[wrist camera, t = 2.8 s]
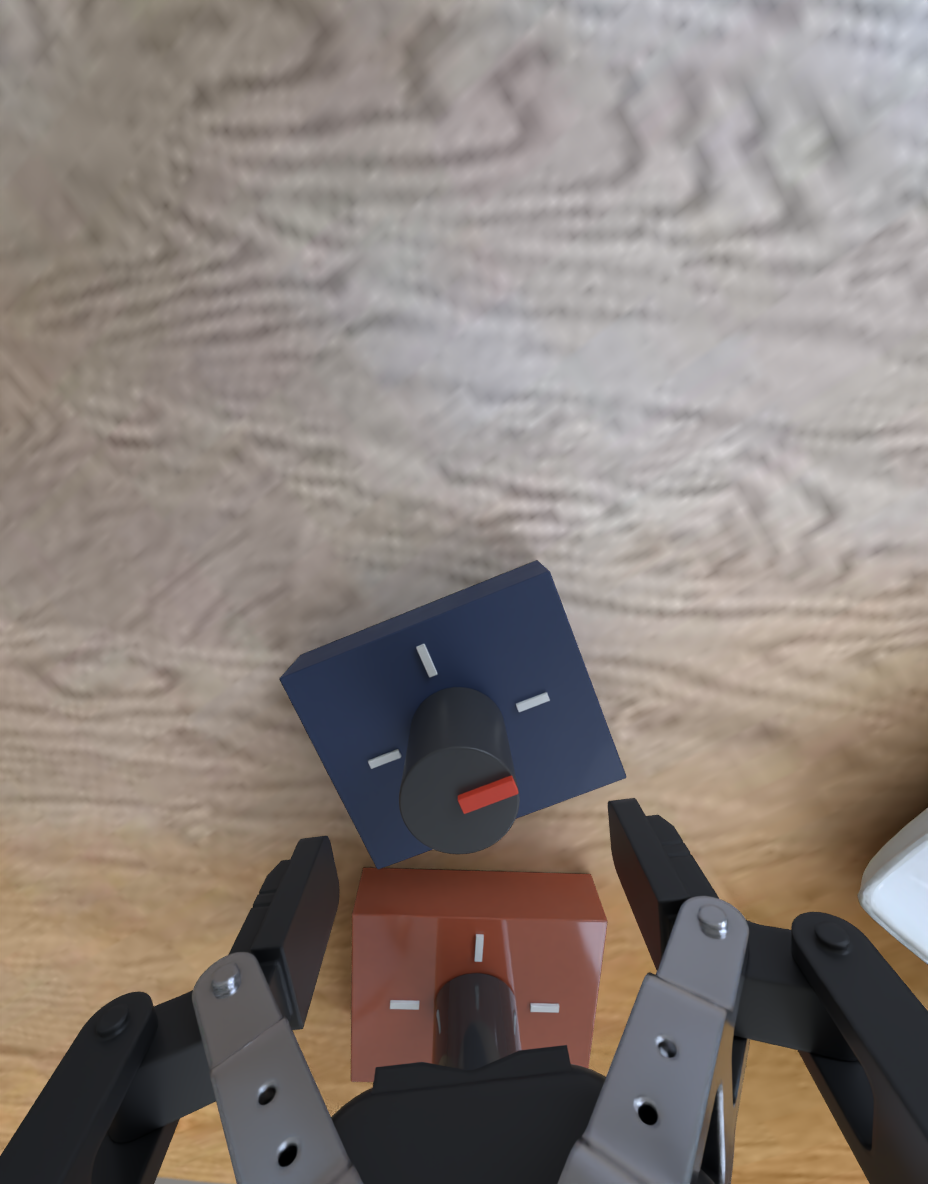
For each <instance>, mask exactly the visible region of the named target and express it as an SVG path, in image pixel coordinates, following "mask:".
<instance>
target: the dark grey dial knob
mask: <svg viewBox="0 0 928 1184" xmlns="http://www.w3.org/2000/svg"><path fill="white" fill-rule="evenodd" d="M520 1050H522V1048H521V1040H520V1031H519V1023H518V1015H517V1007H516V1000H515V997H514V994H513V992H512V990H511V989H510V988H509V986H508V985H507V984H506V983H504V982H503V981H502V980H500V979H499V978H497V977H495V976H492V975H489V974H484V973H468V974H463V975H460V976H457V977H455V978H453V979H451V980H450V981H448V982H447V983H446V984H445V985H444V986H443V987H442V988H441V989H440V991H439V992H438V994H437V996H436V998H435V1002H434V1012H433V1038H432V1064H437V1065H442V1066H447V1067H453V1068H458V1069H463V1070H474V1069H477V1068H480V1067H482V1066H484V1065H487V1064H489V1063H491V1062H494V1061H496V1060H498V1059H501V1058H503V1057H505V1056H508V1055H510V1054H512V1053H515V1052H517V1051H520Z"/></svg>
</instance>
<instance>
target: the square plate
mask: <svg viewBox="0 0 928 1184" xmlns="http://www.w3.org/2000/svg"><path fill="white" fill-rule="evenodd" d="M858 899H859V903H860V905H861V906H862V908H863V909H864V910H865V911H866V912H867V913H868V914H869V915H870V917H871V918H872V919H874V920H875V921H876V922H877V923H878V924H879V925H881V926H882V927H883V928H884V929H885V930H886V931H888V932H889V933H890V934H891V935H892V936H893V937H895V938H896V939H897V940H898V941H899V942H900V943H902V944H903V945H904V946H905V947H907V948H908V949H909V950H910V951H912V952H913V953H914V954H915V955H917V956H918V957H919V958H920V959H922V960H923V961H924V962H925V963H926V964H928V808H926V809H925V810H924V811H923V812H922V813H920V814H919V815H918V816H917V817H915V818H914V819H913V820H912V821H911V822H909V823H908V824H907V825H906V826H905V827H903V828H902V829H901V830H900V831H899V832H898V833H897V834H896V835H895V836H894V837H893V838H891V839H890V840H889V841H888V842H887V843H886V844H885V845H884V846H883V847H882V848H881V849H880V850H879V851H878V853H877V854H876V855H875V856H874V857H873V858H872V859H871V860H870V862H869V864H868V865H867V867H866V869H865V871H864V873H863V876H862V881H861V888H860V891H859V893H858Z"/></svg>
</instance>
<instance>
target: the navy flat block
mask: <svg viewBox="0 0 928 1184" xmlns="http://www.w3.org/2000/svg"><path fill="white" fill-rule="evenodd" d="M280 681H281V683H282V685H283V687H284V689H285V691H286V693H287V695H288V697H289V699H290V701H291V703H292V705H293V706H294V708H295V710H296V712H297V714H298V716H299V718H300V720H301V722H302V724H303V726H304V728H305V730H306V732H307V734H308V736H309V738H310V740H311V741H312V743H313V745H314V747H315V749H316V751H317V753H318V755H319V757H320V759H321V761H322V763H323V765H324V767H325V769H326V771H327V773H328V775H329V776H330V778H331V780H332V782H333V784H334V786H335V788H336V790H337V792H338V794H339V796H340V798H341V800H342V802H343V804H344V806H345V808H346V810H347V812H348V813H349V815H350V817H351V819H352V821H353V823H354V825H355V827H356V829H357V831H358V833H359V835H360V837H361V839H362V841H363V843H364V845H365V847H366V848H367V850H368V852H369V854H370V856H371V858H372V860H373V862H374V864H375V866H376V868H377V869H381V868H384V867H386V866H389V865H392V864H395V863H397V862H400V861H403V860H405V859H408V858H411V857H413V856H416V855H419V854H422V853H424V852H427V851H430V850H432V848H429V847H428V846H426V845H424V844H423V843H421V842H420V841H419V840H417V839H416V838H415V837H414V836H413V835H412V834H411V832H410V831H409V830H408V828H407V827H406V825H405V823H404V821H403V819H402V816H401V813H400V809H399V792H400V786H401V781H402V775H403V769H404V764H405V758H406V752H407V747H408V741H409V735H410V730H411V724H412V720H413V717H414V714H415V712H416V710H417V709H418V707H419V706H420V704H421V703H422V702H423V701H424V700H425V699H427V698H428V697H429V696H431V695H432V694H434V693H436V692H438V691H440V690H443V689H447V688H452V687H465V688H470V689H474V690H477V691H479V692H481V693H483V694H484V695H486V696H488V697H489V698H490V699H491V700H492V701H493V702H494V703H495V704H496V705H497V707H498V708H499V710H500V712H501V714H502V716H503V719H504V723H505V728H506V733H507V737H508V742H509V747H510V751H511V756H512V761H513V765H514V770H515V775H516V779H517V784H518V789H519V797H520V802H519V809H518V813H517V816H516V818H519V817H522V816H524V815H527V814H530V813H533V812H535V811H538V810H541V809H543V808H546V807H549V806H552V805H554V804H557V803H560V802H562V801H565V800H568V799H570V798H573V797H576V796H579V795H581V794H584V793H587V792H589V791H592V790H595V789H598V788H600V787H603V786H606V785H608V784H611V783H614V782H616V781H619V780H622V779H625V778H626V774H625V771H624V769H623V766H622V763H621V761H620V758H619V755H618V752H617V750H616V747H615V744H614V742H613V739H612V736H611V734H610V731H609V728H608V726H607V723H606V720H605V718H604V715H603V712H602V710H601V707H600V704H599V702H598V699H597V696H596V694H595V691H594V688H593V686H592V683H591V680H590V678H589V675H588V672H587V670H586V667H585V664H584V662H583V659H582V656H581V654H580V651H579V648H578V645H577V643H576V640H575V637H574V635H573V632H572V629H571V627H570V624H569V621H568V619H567V616H566V613H565V611H564V608H563V605H562V603H561V600H560V597H559V595H558V592H557V589H556V587H555V584H554V581H553V579H552V576H551V573H550V571H549V570H548V569H547V568H545V567H544V566H543V565H542V564H541V563H540V562H539V561H538V560H536V561H534V562H531V563H529V564H526V565H524V566H521V567H519V568H516V569H514V570H511V571H509V572H506V573H504V574H501V575H499V576H496V577H494V578H491V579H489V580H486V581H484V582H481V583H479V584H476V585H474V586H471V587H469V588H466V589H464V590H461V591H459V592H456V593H454V594H451V595H449V596H446V597H444V598H441V599H439V600H436V601H434V602H431V603H429V604H426V605H424V606H421V607H419V608H416V609H414V610H411V611H409V612H406V613H404V614H401V615H399V616H396V617H394V618H391V619H389V620H386V621H384V622H381V623H379V624H376V625H374V626H371V627H369V628H366V629H364V630H361V631H359V632H356V633H354V634H351V635H349V636H346V637H344V638H341V639H339V640H336V641H334V642H331V643H329V644H326V645H324V646H321V647H319V648H317V649H314V650H312V651H309V652H307V653H304V654H302V655H300V656H299V657H298V658H297V659H296V661H295V662H294V663H293V664H292V665H291V666H290V667H289V668H288V669H287V671H286V672H285V673H284V674H283V675H282V676H281V677H280ZM516 818H515V819H516Z"/></svg>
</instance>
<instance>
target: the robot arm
mask: <svg viewBox="0 0 928 1184" xmlns="http://www.w3.org/2000/svg"><path fill="white" fill-rule="evenodd" d="M608 816H609V828H610V840H611V850H612V856H613V861H614V865H615V869H616V872H617V874H618V877H619V879H620V882H621V884H622V887H623V889H624V892H625V894H626V896H627V899H628V901H629V904H630V906H631V909H632V911H633V914H634V916H635V919H636V921H637V923H638V926H639V928H640V931H641V933H642V936H643V938H644V941H645V943H646V945H647V948H648V950H649V953H650V955H651V958H652V960H653V963H654V965H655V967H656V970H657V973H656V975H654V974H652V973H650V972H649V973H647V975H646V976H645V978H644V980H643V982H642V985H641V987H640V990H639V993H638V995H637V998H636V1000H635V1003H634V1006H633V1008H632V1011H631V1014H630V1016H629V1019H628V1021H627V1024H626V1027H625V1029H624V1032H623V1035H622V1037H621V1040H620V1042H619V1045H618V1048H617V1050H616V1053H615V1055H614V1058H613V1061H612V1063H611V1066H610V1069H609V1071H608V1074H607V1076H606V1077H605V1076H603V1075H602V1074H599V1073H597V1072H595V1071H593V1070H591V1069H588V1068H585V1067H582V1066H579V1065H574V1064H571V1063H570V1058H569V1053H568V1048H567V1045H562V1046H553V1047H545V1048H536V1049H528V1050H520V1051H517V1052H515V1053H512V1054H510V1055H508V1056H505V1057H503V1058H501V1059H498V1060H496V1061H494V1062H491V1063H489V1064H487V1065H484V1066H482V1067H480V1068H477V1069H474V1070H463V1069H458V1068H453V1067H447V1066H442V1065H437V1064H431V1063H426V1062H416V1063H408V1064H399V1065H391V1066H382V1067H376V1068H375V1075H374V1082H373V1088H371V1089H369V1090H366V1091H365V1092H363V1093H361V1094H360V1095H358V1096H356V1097H355V1098H353V1099H352V1100H350V1101H349V1102H348V1103H346V1104H345V1105H344V1106H343V1107H342V1108H340V1109H339V1110H338V1111H337V1112H336V1113H335V1114H334V1115H333V1116H332V1117H330V1114H329V1112H328V1110H327V1107H326V1105H325V1103H324V1101H323V1098H322V1096H321V1094H320V1092H319V1089H318V1087H317V1085H316V1083H315V1080H314V1078H313V1076H312V1074H311V1071H310V1069H309V1067H308V1065H307V1062H306V1060H305V1058H304V1056H303V1053H302V1051H301V1049H300V1046H299V1044H298V1042H297V1040H296V1037H295V1035H294V1033H293V1031H292V1030H298V1029H303V1027H304V1024H305V1020H306V1017H307V1013H308V1010H309V1006H310V1003H311V999H312V996H313V992H314V989H315V985H316V982H317V978H318V975H319V971H320V968H321V964H322V961H323V957H324V954H325V950H326V947H327V943H328V940H329V936H330V933H331V929H332V926H333V922H334V919H335V915H336V912H337V908H338V904H339V880H338V876H337V871H336V866H335V862H334V857H333V852H332V848H331V843H330V840H329V838H328V836H320V837H312V838H304V839H300V840H299V842H298V844H297V846H296V848H295V850H294V852H293V855H292V857H291V859H290V860H283V861H281V862H280V863H279V864H278V865H277V866H276V867H275V868H274V869H273V870H272V871H271V872H270V873H269V874H268V875H267V877H266V879H265V881H264V883H263V885H262V887H261V889H260V891H259V895H257V897H256V899H255V901H254V904H253V908H251V910H250V912H249V914H248V916H247V918H246V920H245V922H244V924H243V926H242V928H241V930H240V932H239V934H238V936H237V938H236V940H235V942H234V944H233V946H232V948H231V951H230V953H229V955H227V956H225V957H223V958H221V959H219V960H218V961H216V962H215V963H214V964H212V965H211V966H210V967H209V968H208V969H207V970H206V971H205V972H204V973H203V974H202V975H201V976H200V978H199V979H198V981H197V982H196V984H195V986H194V989H193V990H192V991H190V992H188V993H186V994H184V995H181V996H179V997H176V998H174V999H171V1000H169V1001H166V1002H164V1003H162V1004H159V1005H157V1006H153V1003H152V1000H151V998H150V996H149V995H148V994H147V993H144V992H132V993H128V994H125V995H122V996H120V997H118V998H116V999H114V1000H112V1001H111V1002H109V1003H108V1004H106V1005H105V1006H103V1007H102V1008H101V1009H100V1010H98V1011H97V1012H96V1013H95V1014H94V1015H93V1016H92V1017H91V1018H90V1019H89V1020H88V1021H87V1023H86V1024H85V1025H84V1026H83V1028H82V1029H81V1031H80V1032H79V1034H78V1035H77V1037H76V1039H75V1040H74V1042H73V1043H72V1045H71V1046H70V1048H69V1050H68V1051H67V1053H66V1054H65V1056H64V1057H63V1059H62V1060H61V1062H60V1064H59V1065H58V1067H57V1068H56V1070H55V1071H54V1073H53V1074H52V1076H51V1078H50V1079H49V1081H48V1082H47V1084H46V1085H45V1087H44V1089H43V1090H42V1092H41V1093H40V1095H39V1096H38V1098H37V1099H36V1101H35V1103H34V1104H33V1106H32V1107H31V1109H30V1110H29V1112H28V1114H27V1115H26V1117H25V1118H24V1120H23V1121H22V1123H21V1124H20V1126H19V1128H18V1129H17V1131H16V1132H15V1134H14V1135H13V1137H12V1139H11V1140H10V1142H9V1143H8V1145H7V1146H6V1148H5V1149H4V1151H3V1153H2V1154H1V1156H0V1184H154V1183H155V1180H156V1178H157V1175H158V1173H159V1170H160V1167H161V1165H162V1162H163V1160H164V1157H165V1155H166V1152H167V1150H168V1147H169V1145H170V1142H171V1139H172V1137H173V1134H174V1132H175V1129H176V1127H177V1124H178V1122H179V1119H180V1118H182V1117H184V1116H186V1115H188V1114H190V1113H192V1112H194V1111H196V1110H199V1109H201V1108H203V1107H205V1106H207V1105H209V1104H211V1103H213V1102H215V1101H216V1102H217V1106H218V1110H219V1114H220V1118H221V1122H222V1126H223V1130H224V1134H225V1138H226V1142H227V1146H228V1150H229V1154H230V1158H231V1162H232V1166H233V1170H234V1174H235V1178H236V1182H237V1184H731V1177H732V1168H733V1158H734V1142H735V1130H736V1122H737V1116H738V1110H739V1104H740V1098H741V1092H742V1086H743V1080H744V1074H745V1068H746V1062H747V1057H748V1051H749V1045H750V1039H751V1040H756V1041H760V1042H765V1043H769V1044H773V1045H778V1046H782V1047H787V1048H791V1049H795V1050H798V1052H799V1054H800V1056H801V1057H802V1059H803V1061H804V1063H805V1065H806V1067H807V1069H808V1070H809V1072H810V1074H811V1076H812V1078H813V1080H814V1081H815V1083H816V1085H817V1087H818V1089H819V1091H820V1093H821V1094H822V1096H823V1098H824V1100H825V1102H826V1104H827V1106H828V1107H829V1109H830V1111H831V1113H832V1115H833V1117H834V1118H835V1120H836V1122H837V1124H838V1126H839V1128H840V1130H841V1131H842V1133H843V1135H844V1137H845V1139H846V1141H847V1143H848V1144H849V1146H850V1148H851V1150H852V1152H853V1154H854V1155H855V1157H856V1159H857V1161H858V1163H859V1165H860V1167H861V1168H862V1170H863V1172H864V1174H865V1176H866V1178H867V1180H868V1181H869V1183H870V1184H928V1011H927V1010H926V1008H925V1007H924V1006H923V1005H922V1004H921V1002H920V1001H919V1000H918V999H917V998H916V996H915V995H914V994H913V993H912V992H911V990H910V989H909V988H908V987H907V985H906V984H905V983H904V982H903V981H902V979H901V978H900V977H899V976H898V975H897V973H896V972H895V971H894V970H893V968H892V967H891V966H890V965H889V964H888V962H887V961H886V960H885V959H884V958H883V956H882V955H881V954H880V953H879V952H878V950H877V949H876V948H875V947H874V945H873V944H872V943H871V942H870V941H869V939H868V938H867V937H866V936H865V935H864V934H863V933H862V932H861V931H860V930H859V929H857V928H856V927H855V926H853V925H852V924H850V923H849V922H847V921H845V920H843V919H841V918H839V917H836V916H833V915H830V914H826V913H821V912H807V913H803V914H800V915H799V916H797V917H796V918H795V919H794V921H793V923H792V927H791V930H789V929H783V928H776V927H770V926H764V925H759V924H756V923H752V922H750V921H747V920H746V919H745V918H744V916H743V915H742V914H741V913H740V912H739V911H738V910H737V909H736V908H735V907H734V906H732V905H731V904H729V903H727V902H725V901H723V900H721V899H719V897H718V896H717V894H716V893H715V891H714V889H713V888H712V886H711V885H710V883H709V881H708V880H707V878H706V877H705V875H704V874H703V872H702V870H701V869H700V867H699V866H698V864H697V862H696V861H695V859H694V858H693V856H692V855H691V854H690V851H689V850H688V848H687V847H686V845H685V843H683V840H682V839H681V837H680V835H679V834H678V832H677V831H676V829H675V828H674V826H673V825H671V824H670V823H669V822H667V821H666V820H665V819H663V818H662V817H661V816H659V815H652V816H645V814H644V812H643V811H642V809H641V807H640V805H639V803H638V802H637V800H636V799H635V798H630V799H622V800H614V801H609V802H608Z"/></svg>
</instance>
